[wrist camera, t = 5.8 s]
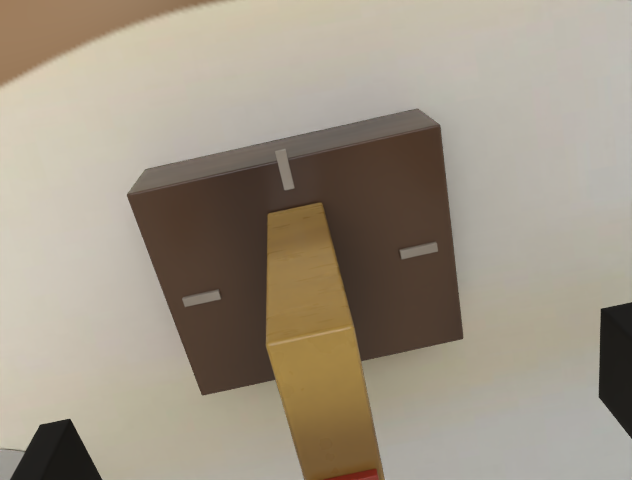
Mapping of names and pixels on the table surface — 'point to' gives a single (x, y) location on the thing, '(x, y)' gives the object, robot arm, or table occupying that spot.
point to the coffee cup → (9, 462)
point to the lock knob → (317, 350)
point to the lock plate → (345, 228)
